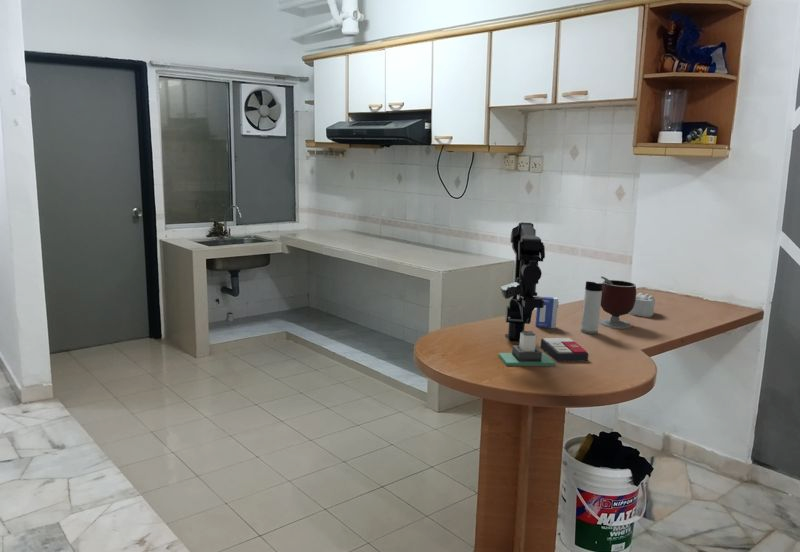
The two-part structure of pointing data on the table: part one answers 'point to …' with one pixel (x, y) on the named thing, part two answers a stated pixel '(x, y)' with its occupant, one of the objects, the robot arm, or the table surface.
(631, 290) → the mate gourd
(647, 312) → the lumpy-topped squat cylinder
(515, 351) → the board
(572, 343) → the dark panelled flat block
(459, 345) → the table surface
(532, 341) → the plug
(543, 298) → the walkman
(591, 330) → the travel mug
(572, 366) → the table surface
